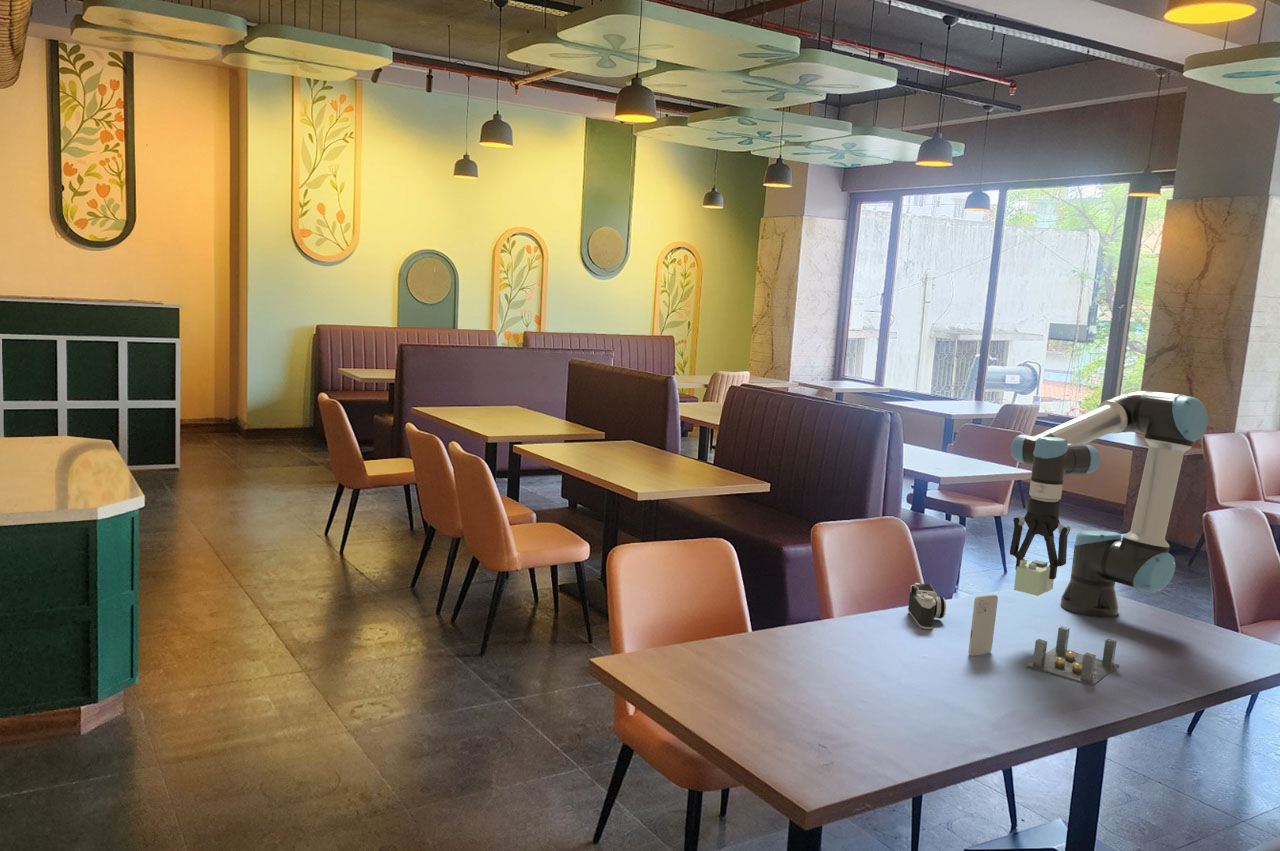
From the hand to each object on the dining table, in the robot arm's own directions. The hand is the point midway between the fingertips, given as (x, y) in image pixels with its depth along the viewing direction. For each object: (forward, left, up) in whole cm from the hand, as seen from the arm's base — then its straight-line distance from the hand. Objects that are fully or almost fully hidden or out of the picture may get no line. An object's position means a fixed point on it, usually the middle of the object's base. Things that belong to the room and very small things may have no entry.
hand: (1033, 587), depth 250 cm
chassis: (+10, +15, -15) cm, 23 cm away
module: (0, 0, 0) cm, 0 cm away
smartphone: (+19, -4, -15) cm, 24 cm away
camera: (+5, -25, -15) cm, 30 cm away
